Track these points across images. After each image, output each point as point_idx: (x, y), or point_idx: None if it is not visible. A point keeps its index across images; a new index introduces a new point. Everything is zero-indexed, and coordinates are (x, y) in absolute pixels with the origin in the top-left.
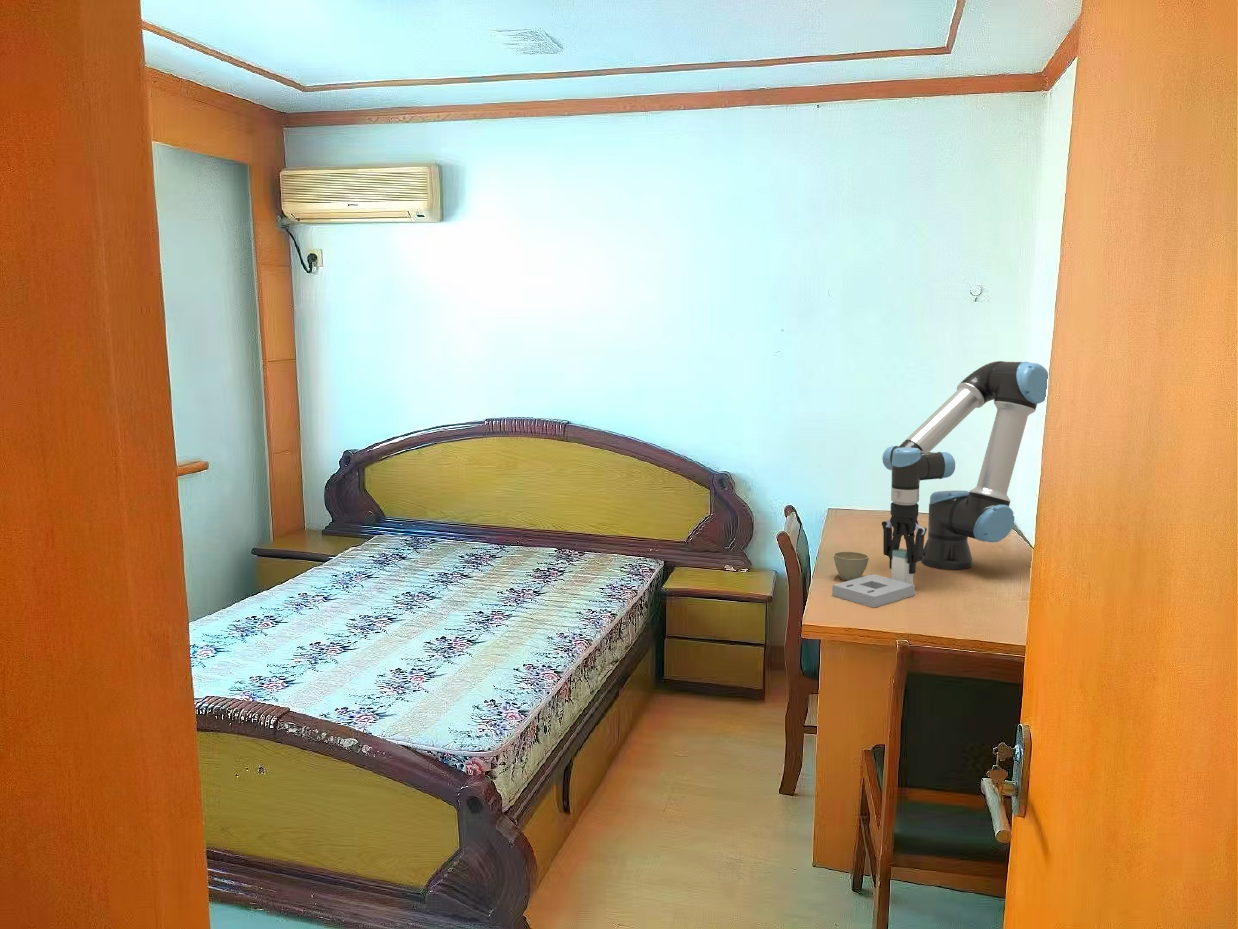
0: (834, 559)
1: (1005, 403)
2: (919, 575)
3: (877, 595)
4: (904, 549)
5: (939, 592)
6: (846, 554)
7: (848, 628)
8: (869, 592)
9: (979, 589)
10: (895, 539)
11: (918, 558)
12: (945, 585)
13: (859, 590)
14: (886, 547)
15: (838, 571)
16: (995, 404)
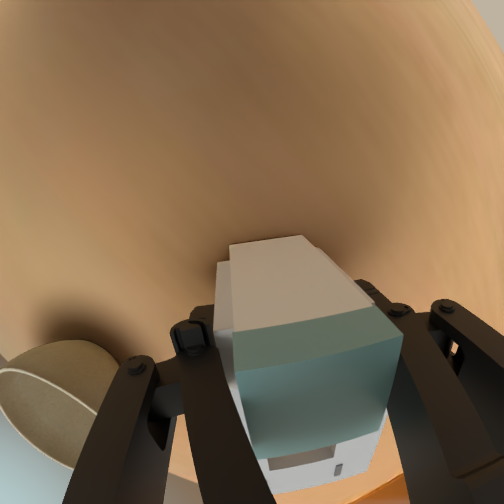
0: (59, 448)
1: None
2: (180, 48)
3: (366, 466)
4: (303, 379)
5: (419, 207)
6: (3, 386)
7: (375, 489)
8: (340, 473)
9: (451, 57)
10: None
11: (454, 356)
12: (373, 91)
13: (310, 482)
14: (165, 459)
15: (83, 417)
16: None
